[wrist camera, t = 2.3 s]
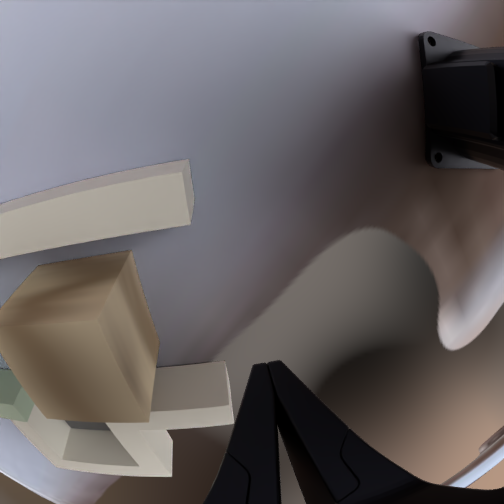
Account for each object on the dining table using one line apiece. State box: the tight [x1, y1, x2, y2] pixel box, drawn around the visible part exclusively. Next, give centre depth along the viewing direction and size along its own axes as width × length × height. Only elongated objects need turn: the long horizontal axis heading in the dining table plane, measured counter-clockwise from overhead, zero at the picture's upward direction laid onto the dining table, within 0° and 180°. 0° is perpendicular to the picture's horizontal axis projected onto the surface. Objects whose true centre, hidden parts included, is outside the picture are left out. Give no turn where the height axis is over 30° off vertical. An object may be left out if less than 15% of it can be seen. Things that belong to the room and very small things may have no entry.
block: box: [0, 250, 160, 423], centre depth 11 cm, size 5×5×5 cm
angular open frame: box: [0, 159, 234, 477], centre depth 13 cm, size 18×18×3 cm
